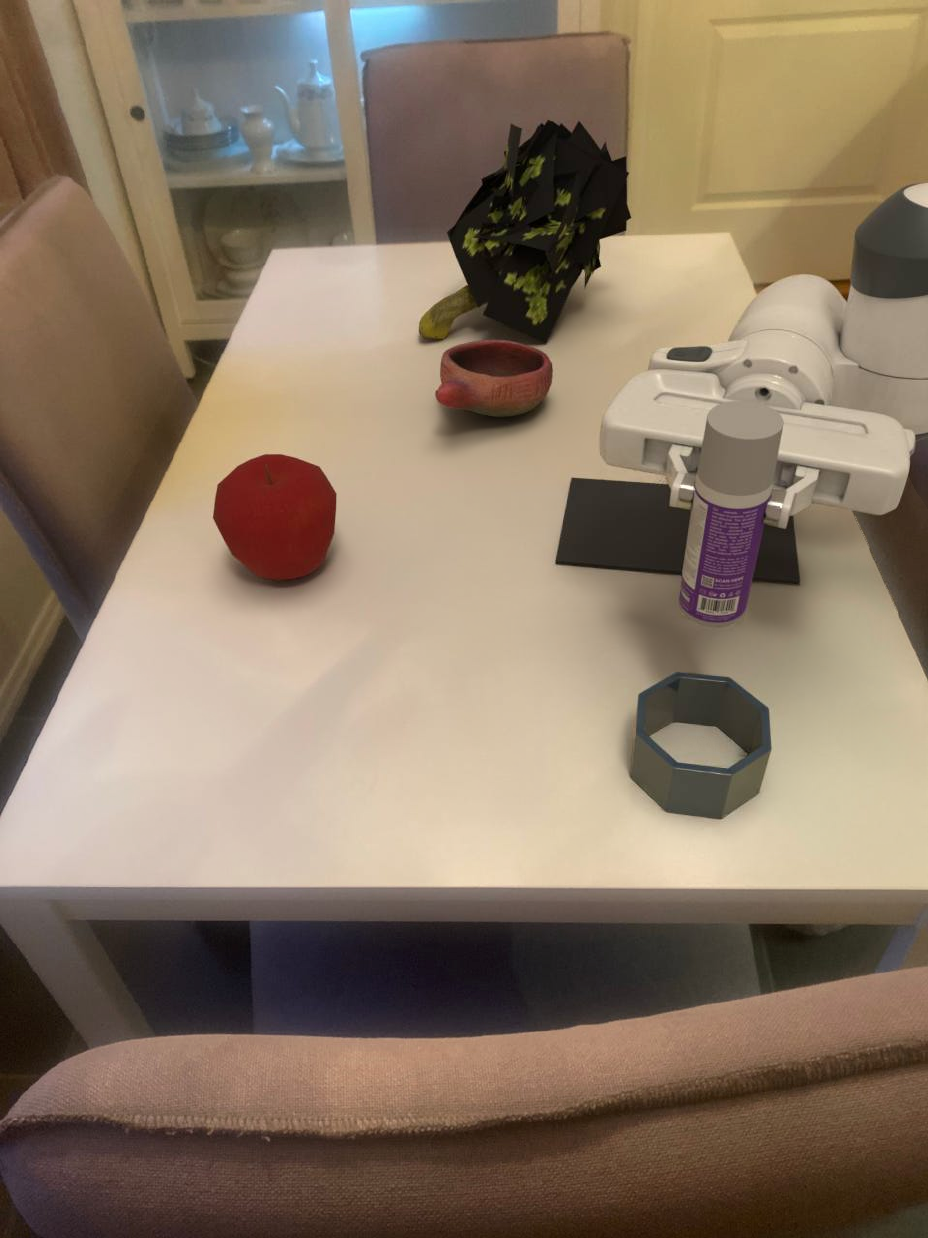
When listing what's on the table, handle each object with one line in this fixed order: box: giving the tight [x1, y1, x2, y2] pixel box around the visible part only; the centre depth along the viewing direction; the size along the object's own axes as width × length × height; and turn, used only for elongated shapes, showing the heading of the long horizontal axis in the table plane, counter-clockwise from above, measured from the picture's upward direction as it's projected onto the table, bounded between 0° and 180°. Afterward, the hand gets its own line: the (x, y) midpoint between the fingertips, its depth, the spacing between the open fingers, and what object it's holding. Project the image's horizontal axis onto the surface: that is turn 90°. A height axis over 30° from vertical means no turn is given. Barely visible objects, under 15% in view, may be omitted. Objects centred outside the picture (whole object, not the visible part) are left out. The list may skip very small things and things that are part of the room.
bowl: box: [434, 339, 554, 418], centre depth 104 cm, size 16×13×8 cm
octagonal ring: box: [629, 671, 773, 820], centre depth 66 cm, size 9×9×5 cm
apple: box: [212, 453, 337, 581], centre depth 83 cm, size 11×11×12 cm
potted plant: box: [418, 119, 632, 345], centre depth 119 cm, size 21×22×30 cm
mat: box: [555, 477, 801, 586], centre depth 89 cm, size 22×14×1 cm, turn 79°
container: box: [677, 401, 784, 629], centre depth 60 cm, size 5×5×15 cm
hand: (727, 508), depth 58 cm, fingers closed on container, 4 cm apart
